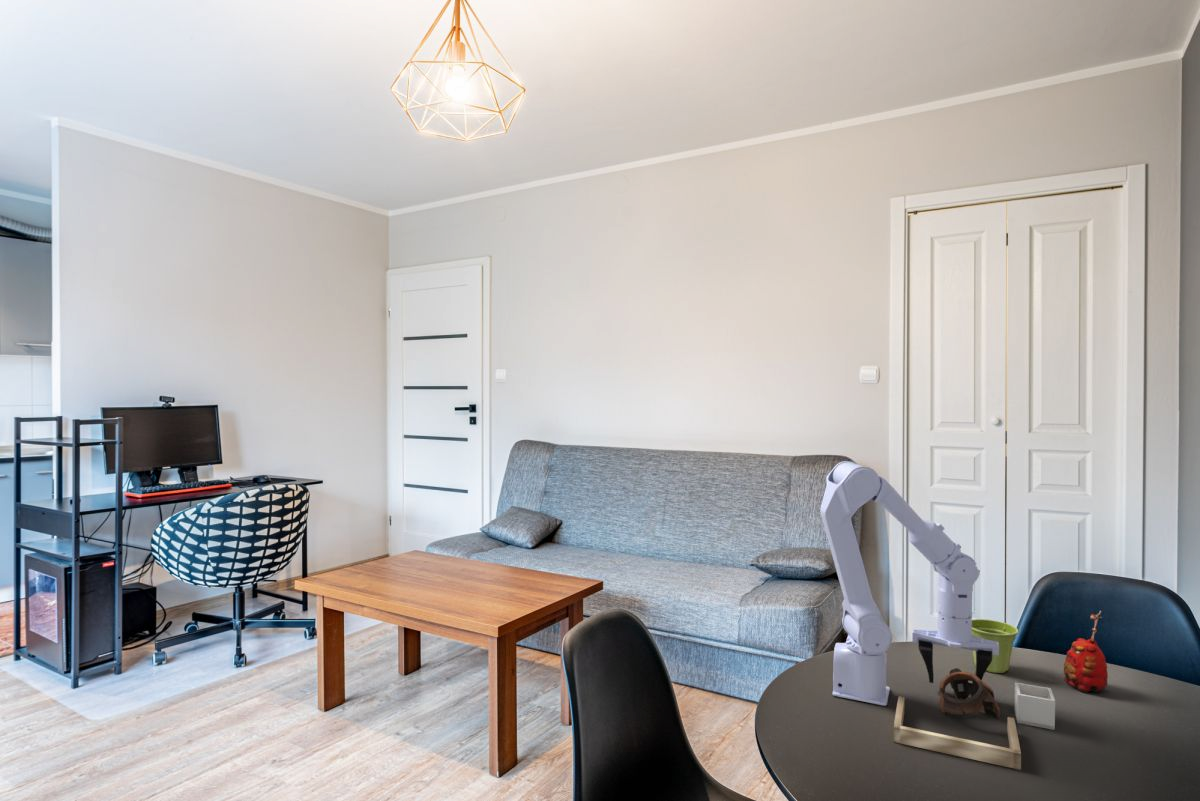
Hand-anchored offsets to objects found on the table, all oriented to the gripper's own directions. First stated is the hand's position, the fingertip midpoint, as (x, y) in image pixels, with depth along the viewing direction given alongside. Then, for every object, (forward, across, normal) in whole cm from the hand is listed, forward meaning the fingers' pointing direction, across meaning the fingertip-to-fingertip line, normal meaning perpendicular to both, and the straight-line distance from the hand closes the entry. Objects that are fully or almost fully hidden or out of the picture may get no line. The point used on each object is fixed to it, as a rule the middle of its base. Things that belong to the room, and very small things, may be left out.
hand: (953, 684), depth 130 cm
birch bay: (+2, 0, -17) cm, 17 cm away
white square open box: (+2, +12, -4) cm, 13 cm away
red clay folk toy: (+2, +23, +16) cm, 28 cm away
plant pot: (+2, +7, +18) cm, 19 cm away
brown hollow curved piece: (+2, +2, -6) cm, 7 cm away
